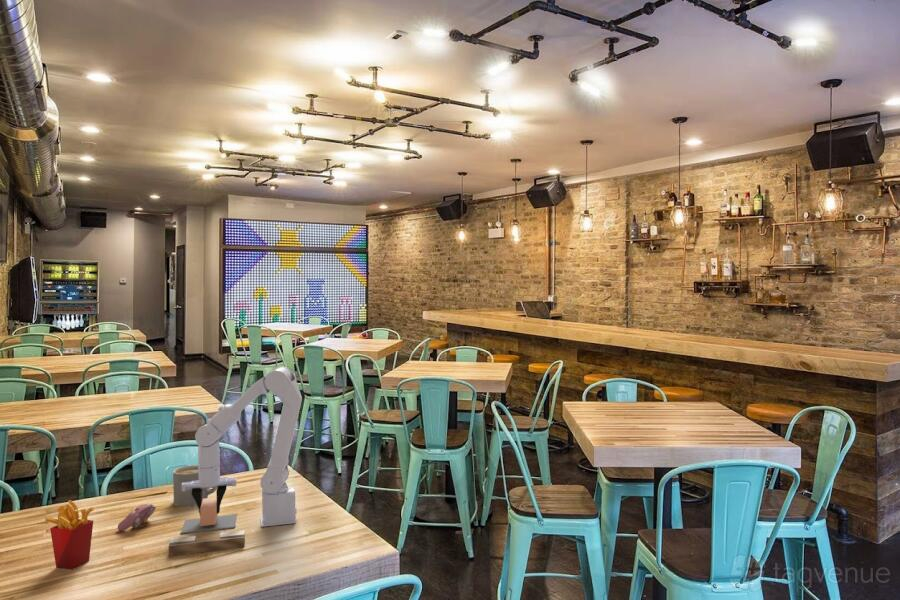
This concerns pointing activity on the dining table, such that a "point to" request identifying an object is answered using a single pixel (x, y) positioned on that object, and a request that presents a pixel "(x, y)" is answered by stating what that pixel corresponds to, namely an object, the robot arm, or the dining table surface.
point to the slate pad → (221, 524)
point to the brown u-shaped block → (206, 543)
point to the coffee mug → (186, 496)
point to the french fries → (71, 536)
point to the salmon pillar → (208, 511)
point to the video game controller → (137, 517)
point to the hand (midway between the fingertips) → (209, 513)
